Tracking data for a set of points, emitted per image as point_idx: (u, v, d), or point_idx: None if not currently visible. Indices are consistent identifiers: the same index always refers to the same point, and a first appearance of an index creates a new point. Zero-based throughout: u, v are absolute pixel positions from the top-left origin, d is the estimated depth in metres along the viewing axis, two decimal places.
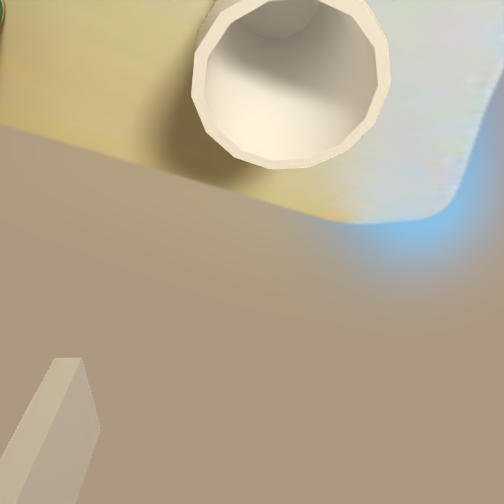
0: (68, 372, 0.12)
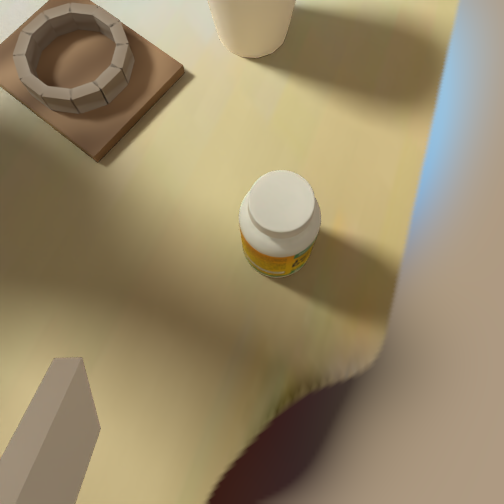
0: (68, 372, 0.12)
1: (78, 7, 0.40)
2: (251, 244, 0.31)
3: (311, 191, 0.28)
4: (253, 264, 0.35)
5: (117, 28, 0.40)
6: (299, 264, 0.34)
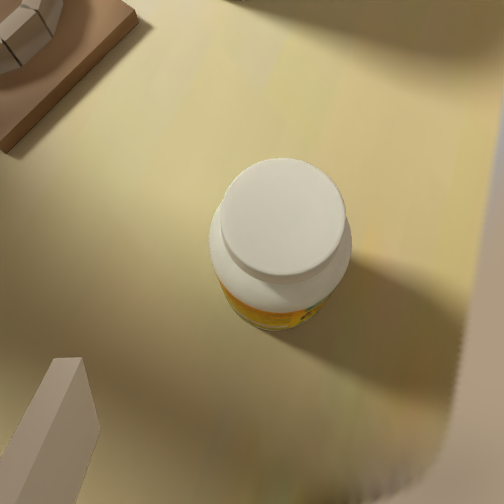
0: (68, 372, 0.12)
1: None
2: (230, 290, 0.17)
3: (338, 197, 0.15)
4: (238, 312, 0.22)
5: None
6: (312, 314, 0.21)
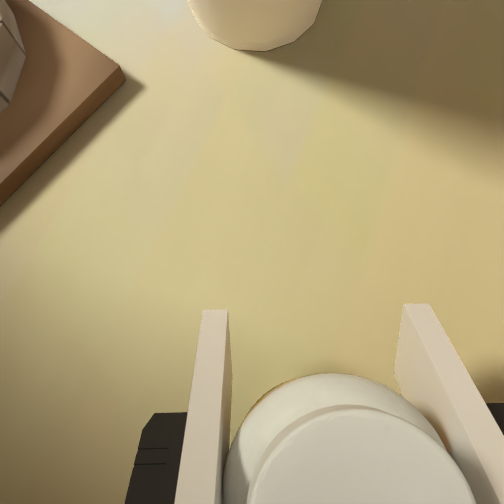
0: (220, 320, 0.14)
1: None
2: None
3: (468, 498, 0.08)
4: None
5: None
6: None
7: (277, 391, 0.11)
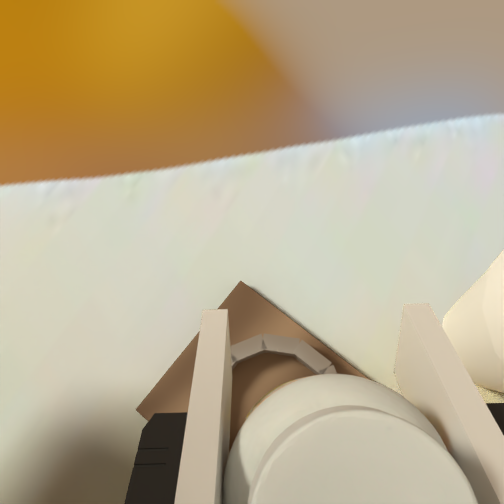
0: (220, 320, 0.14)
1: (274, 341, 0.30)
2: None
3: (471, 500, 0.08)
4: None
5: None
6: None
7: (278, 392, 0.11)
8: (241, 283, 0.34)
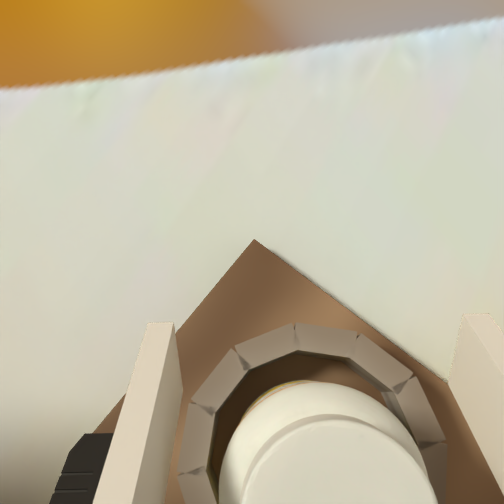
0: (164, 334, 0.14)
1: (313, 336, 0.18)
2: None
3: (431, 498, 0.09)
4: None
5: (413, 396, 0.17)
6: None
7: (268, 399, 0.12)
8: (255, 243, 0.21)
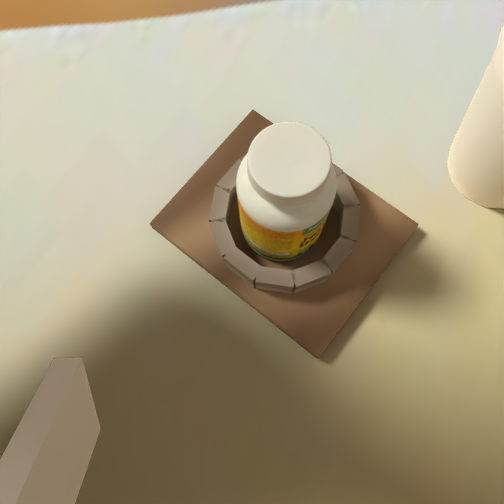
0: (68, 372, 0.12)
1: None
2: (251, 215, 0.25)
3: (327, 147, 0.23)
4: (253, 244, 0.30)
5: (342, 182, 0.30)
6: (308, 244, 0.29)
7: None
8: (253, 112, 0.34)
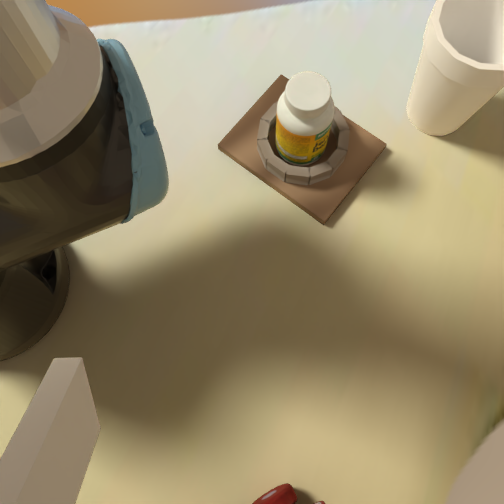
0: (68, 372, 0.12)
1: None
2: (285, 126, 0.44)
3: (328, 84, 0.42)
4: (284, 153, 0.48)
5: (338, 116, 0.49)
6: (318, 151, 0.48)
7: None
8: (281, 75, 0.53)
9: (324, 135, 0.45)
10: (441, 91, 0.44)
